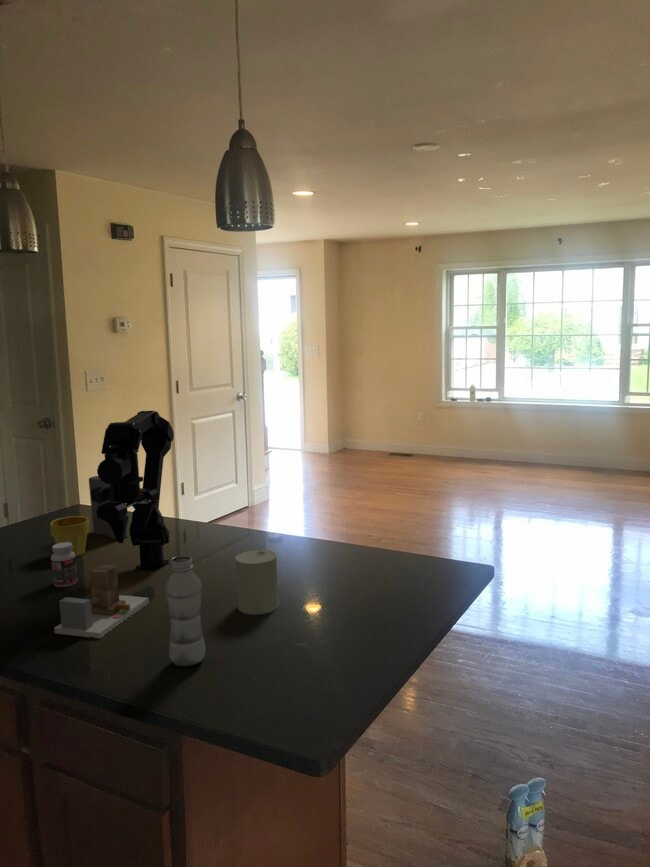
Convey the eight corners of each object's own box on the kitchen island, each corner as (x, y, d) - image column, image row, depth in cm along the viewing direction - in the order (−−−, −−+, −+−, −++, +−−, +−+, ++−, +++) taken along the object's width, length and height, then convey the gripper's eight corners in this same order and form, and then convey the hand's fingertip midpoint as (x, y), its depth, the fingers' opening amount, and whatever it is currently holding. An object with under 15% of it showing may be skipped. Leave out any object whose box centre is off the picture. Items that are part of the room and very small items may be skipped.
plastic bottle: (172, 655, 129) (164, 554, 126) (208, 652, 130) (201, 552, 127) (167, 672, 123) (159, 566, 120) (205, 669, 123) (198, 564, 120)
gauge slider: (100, 603, 152) (97, 563, 150) (135, 606, 149) (132, 566, 148) (81, 615, 145) (77, 574, 144) (117, 619, 143) (113, 577, 141)
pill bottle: (69, 588, 166) (65, 549, 164) (48, 587, 167) (44, 548, 165) (82, 579, 171) (78, 541, 170) (62, 578, 172) (58, 541, 171)
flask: (133, 536, 207) (128, 472, 204) (117, 541, 203) (111, 475, 200) (107, 528, 217) (101, 466, 214) (90, 532, 212) (84, 470, 209)
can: (285, 600, 154) (283, 549, 152) (269, 616, 145) (266, 563, 143) (248, 596, 157) (245, 546, 155) (230, 612, 148) (227, 559, 146)
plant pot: (99, 551, 193) (96, 518, 192) (68, 562, 185) (65, 528, 183) (76, 546, 199) (73, 514, 197) (45, 557, 190) (41, 523, 189)
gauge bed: (107, 598, 158) (104, 570, 157) (149, 602, 155) (146, 573, 154) (54, 633, 141) (51, 601, 140) (100, 638, 137) (97, 605, 136)
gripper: (119, 465, 174) (124, 524, 176) (73, 482, 156) (79, 547, 158) (158, 466, 170) (162, 527, 173) (115, 483, 153) (120, 550, 155)
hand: (131, 537), depth 165 cm, fingers open, 9 cm apart
